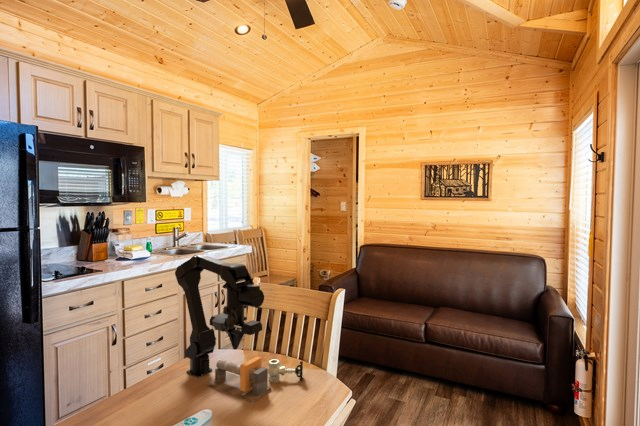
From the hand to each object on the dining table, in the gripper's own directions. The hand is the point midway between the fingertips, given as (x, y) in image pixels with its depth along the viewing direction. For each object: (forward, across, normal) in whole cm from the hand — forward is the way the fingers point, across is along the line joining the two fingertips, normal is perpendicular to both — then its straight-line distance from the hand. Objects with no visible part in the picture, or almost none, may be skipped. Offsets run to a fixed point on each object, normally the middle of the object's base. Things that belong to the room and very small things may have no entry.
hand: (235, 349), depth 126 cm
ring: (+11, +7, 0) cm, 13 cm away
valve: (+13, +11, +13) cm, 21 cm away
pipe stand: (+12, +2, 0) cm, 13 cm away
